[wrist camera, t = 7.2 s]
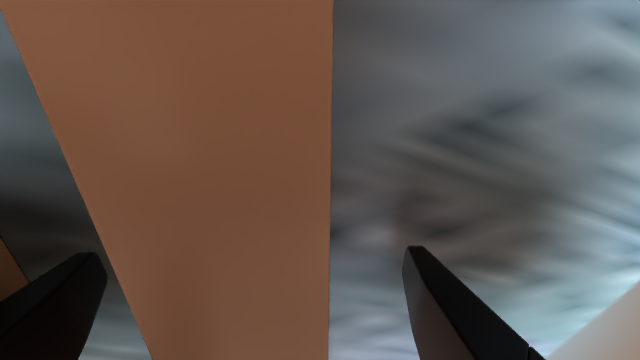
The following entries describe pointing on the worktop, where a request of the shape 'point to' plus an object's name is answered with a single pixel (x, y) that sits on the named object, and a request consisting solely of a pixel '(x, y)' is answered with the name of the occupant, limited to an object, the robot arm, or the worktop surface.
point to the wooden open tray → (9, 274)
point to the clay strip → (198, 161)
